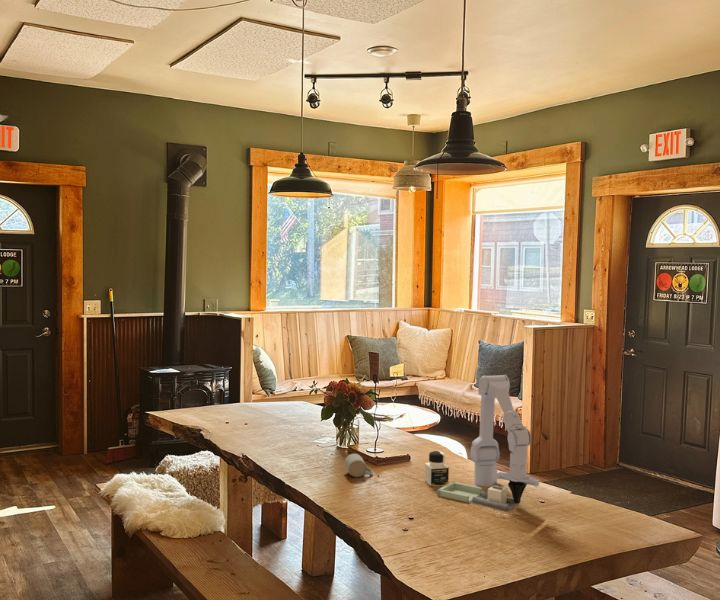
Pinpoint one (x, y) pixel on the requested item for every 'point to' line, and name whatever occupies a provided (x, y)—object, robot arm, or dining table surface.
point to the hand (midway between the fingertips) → (517, 502)
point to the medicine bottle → (436, 469)
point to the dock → (493, 502)
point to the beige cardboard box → (497, 494)
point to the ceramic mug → (356, 466)
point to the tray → (459, 491)
